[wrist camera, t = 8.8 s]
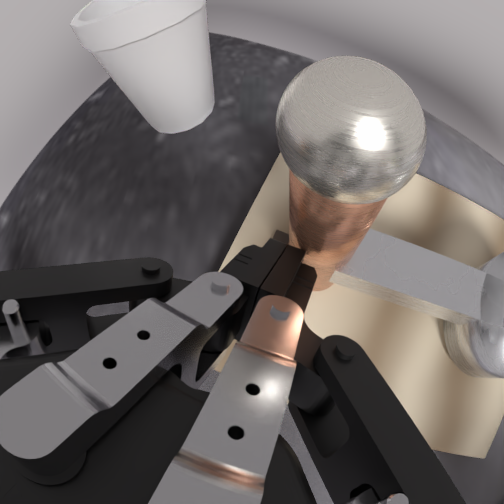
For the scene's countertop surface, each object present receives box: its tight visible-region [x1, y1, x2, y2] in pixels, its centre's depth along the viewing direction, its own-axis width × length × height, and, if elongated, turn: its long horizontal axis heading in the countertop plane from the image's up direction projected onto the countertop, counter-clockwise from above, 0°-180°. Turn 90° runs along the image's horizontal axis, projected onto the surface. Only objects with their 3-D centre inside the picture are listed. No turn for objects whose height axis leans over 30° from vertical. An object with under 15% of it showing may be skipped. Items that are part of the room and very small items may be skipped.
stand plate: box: [214, 152, 504, 459], centre depth 17 cm, size 22×17×2 cm
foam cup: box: [70, 0, 215, 134], centre depth 19 cm, size 10×9×13 cm
